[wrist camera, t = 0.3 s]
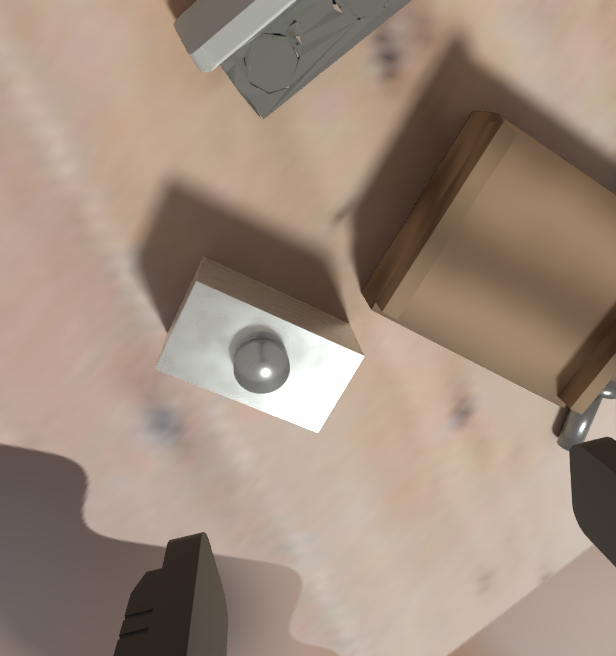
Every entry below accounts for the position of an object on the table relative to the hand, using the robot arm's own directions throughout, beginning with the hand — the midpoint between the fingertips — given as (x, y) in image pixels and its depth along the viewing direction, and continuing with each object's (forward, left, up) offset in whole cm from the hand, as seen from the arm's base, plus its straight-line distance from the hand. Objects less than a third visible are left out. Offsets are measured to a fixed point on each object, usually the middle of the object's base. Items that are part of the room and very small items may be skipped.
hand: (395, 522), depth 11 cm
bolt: (0, +23, -22) cm, 32 cm away
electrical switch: (-11, -7, -23) cm, 26 cm away
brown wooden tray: (-6, +12, -22) cm, 26 cm away
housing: (+5, 0, -23) cm, 23 cm away
